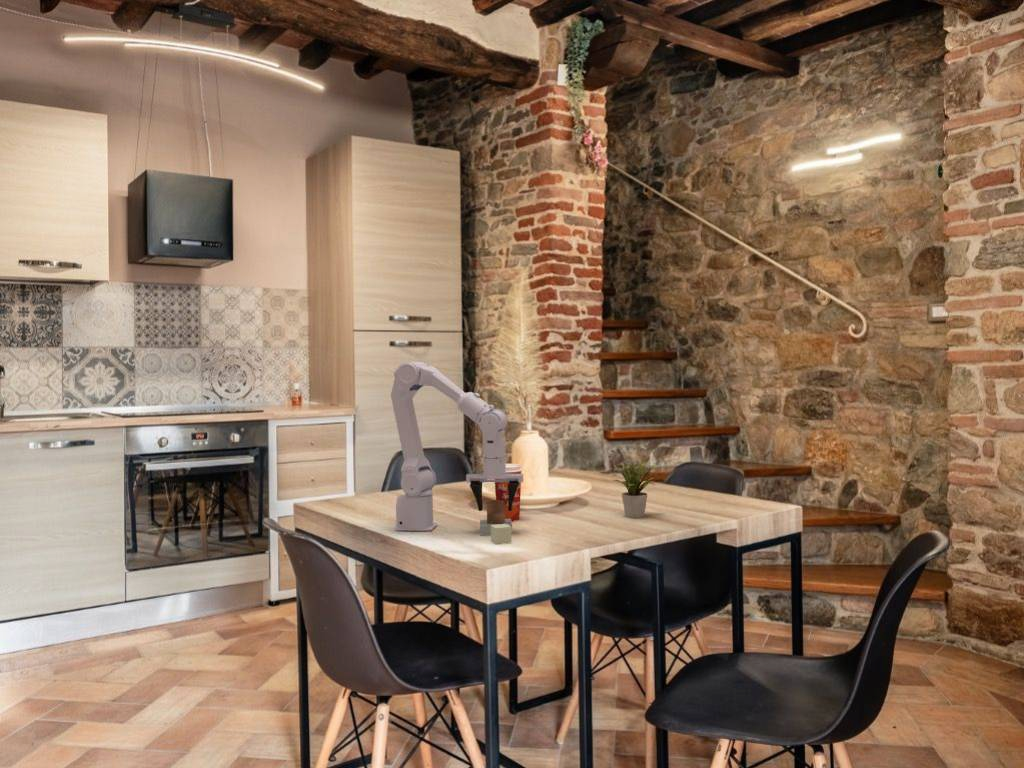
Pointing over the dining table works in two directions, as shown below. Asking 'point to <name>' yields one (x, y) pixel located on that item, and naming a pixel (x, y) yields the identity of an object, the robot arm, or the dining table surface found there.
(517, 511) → the coffee cup
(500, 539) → the sage block
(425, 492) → the robot arm
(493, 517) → the walnut block
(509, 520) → the base block
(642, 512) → the house plant
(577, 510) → the dining table surface
